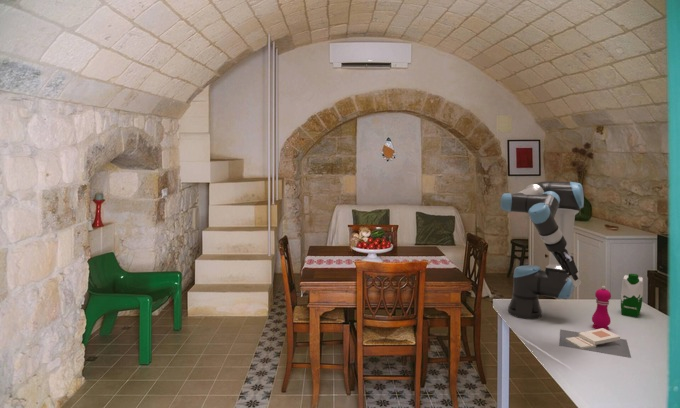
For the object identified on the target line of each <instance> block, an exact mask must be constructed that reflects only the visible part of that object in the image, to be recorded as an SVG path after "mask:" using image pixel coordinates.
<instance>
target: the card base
mask: <svg viewBox="0 0 680 408" xmlns="http://www.w3.org/2000/svg"><path fill="white" fill-rule="evenodd" d="M565 340H566V341H568V342H570V343H571V344H573V345H575V346H577V347H578V348H580V349H579V350H581V349H585V348H594V347H596V345H594V344H592V343H590V342H589V341H587V340H585V339H583V338H581V337H571V338H565Z"/></svg>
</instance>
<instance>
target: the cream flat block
mask: <svg viewBox="0 0 680 408" xmlns="http://www.w3.org/2000/svg"><path fill="white" fill-rule="evenodd" d="M579 337H581V338H583V339H585V340H587V341H589V342H590V343H592V344H594V345H597V344H602V343H607V342H611V341H616V340H620V339H621V336H620V335H619V334H616V333H614V332H612V331H609V330H606V329H604V328H601V329H592V330H586V331H582V332H581V333H579Z"/></svg>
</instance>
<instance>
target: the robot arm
mask: <svg viewBox="0 0 680 408" xmlns="http://www.w3.org/2000/svg"><path fill="white" fill-rule="evenodd" d="M584 203H585V198H584V187H583V185H582V184H581V183H579V182H575V181H557V180H556V181H551V180H543V181H538V182H534V183H530V184H529V185H527V186H526V187H525V188H524V189H523V190H520V191H518V192H515V193H512V192H509V193H503V194H502V195H501V197H500V209H501V210H502V211H505V212H509V213H511V212H512V213H513V212H514V213H527V214H528V216H529V219H530V220H531V222H532V224H533V225H534V227H535V229H536V231H537V232H538V235H539V236H540V240H541V241H543V243H544V245H545V248H546V249H547V251H548V252H550V256H549V264H548V265H546V266H545V270H541V267H540V266H539V265H535V264H533V265H532V264H530V265H529V264H527V265H525V264H524V265H519V266H517V267H515V268H514V270H513V276H512V277H513V280H512V282H513V283H512V295H511V296H512V297H511V299H510V302H509V304H508V306H507V313H508V314H509V315H511V316H513V317H517V318H520V319H528V320H534V319H539V318H541V317H542V307H541V303H540V300H539V298H540V297H539V296H541V297H542V296H543V297H548V298H554V299H558V300H559V299H560V300H569V299H570V298H571V297H572V295H573V292H574V291H575V288H577V287H579V286H580V285H582V281H581V280H580V278H579V276H578V273H579V271H578V268H577V265H576V262H575V259H574V256H573V255H572V248H573V240H574V239H573V238H574V229H575V218H576V215H577V214H579V213H580V209H583V208H584V207H585V206H584Z"/></svg>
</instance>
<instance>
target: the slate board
mask: <svg viewBox="0 0 680 408" xmlns="http://www.w3.org/2000/svg"><path fill="white" fill-rule="evenodd" d="M579 333H581V332H580V331H574V330H566V329H562V328H561V329H559V344H558V345H559V347H565V348H571V349H576V350H582V351H588V352H593V353H599V354H605V355H612V356H617V357H623V358H629V359H632V355H631V351H630V348H629V344H628V340H627V339H624V338H620V340H616V341H611V342H607V343H602V344H597V345H596V347H594V348H585V349H580V348H578V347H577V346H575V345H573V344H571V343H570V342H568V341H566V340H565V338H571V337H579Z"/></svg>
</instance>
